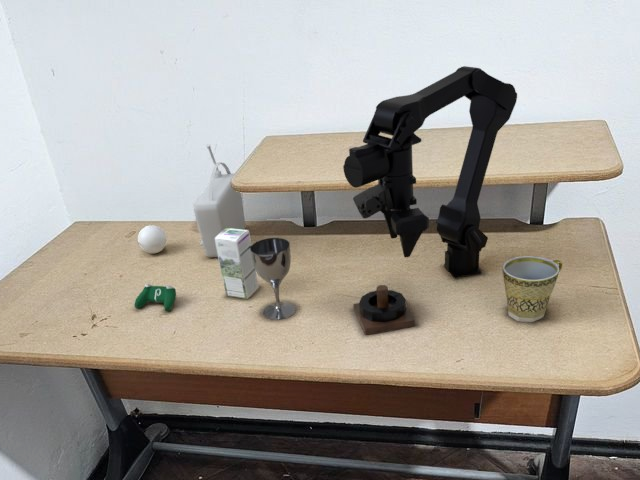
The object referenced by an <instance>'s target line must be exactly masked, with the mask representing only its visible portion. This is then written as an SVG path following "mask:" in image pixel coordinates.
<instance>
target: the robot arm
mask: <svg viewBox="0 0 640 480" xmlns="http://www.w3.org/2000/svg"><path fill="white" fill-rule="evenodd" d="M516 91H517V90H516V88H515V86H514V85H513V84H511V83H509V82H503V81H502V80H500V79H498V78H496V77H494V76H492V75H490V74H489V73H487V72H485V71H484V70H483V69H482V68H480V67H474V66H467V65H464V66H461V67H458V68H457V69H456V70H455V71H454V72H452V73H450V74H448V75H446V76H444V77H443V78H441V79H439V80H437V81H435V82H434V83H432V84H430V85H428V86H425V87H424V88H422V89H420V90H418V91H416V92H414V93H412V94H407V95H401V96H400V95H399V96H395V97H391V98H386V99H383V100H381V101H380V102H379V103H378V104H377V105H376V106H375V111H374V112H373V113H374V114H373V116H372V119H371V121H370V123H369V125H368V128H367V130H366V132H365V135H364V137H363V140H362V143H364V145H360V146H354V147H351V148H349V149H348V153H349V155H348V156H347V157H346V158H345V160H344V164H343V165H342V168H343V169H342V170H343V173H344V177H345V179H346V181H347V183H348V184H349V185H350V186H351V187H353V188H360V187H363V186H366V185H368V184H371V183H374V182H376V181H377V184H375V185H374V186H371V187H368V188H367V189H365V190H363V191H362V192H361V191H360V192H359V193H357V194H356V195H354V196H353V198H352V200H353V202H354V204H355V206H356V209H357V210H358V213H359V214H360V215H361V218H363V219H369V218H370V217H372V216H374V215H376V214H377V213H379V212H381V213H382V214H383V216H384V220H385V223H386V226H387V230H388V233H389V236H390V239H392V240H393V239H396V238H397V237H398V236H399V241H400V244H401V249H402V254H403V257H404V258H409V257H411V255H412V253H413V251H414V250H415V247H416V245H417V244H418V241H419V239H420V237H421V236H422V235H423V232H425V231H426V230H428V229H430V218H429V217H428V215H427V214H426V213H425V212H424V211H423V210H422V209H421V208H419V207H414V208H412V207H411V206H414V205H415V206H416V205H417V198H416V196H414V184H417V178H416V177H415V176H414V172H413V171H414V169H413V146H414V145H417V144H419V143H421V142H422V138H421V137H419V136H418V135H417V134H416V131H418V130H419V129H420V128H422V127H423V125H424V123H425V121H426V119H428V118H429V117H430V116H431V115H433V114H435V113H437V112H438V111H441V110H442V109H443V108H445V107H447V106H449V105H451V104H453V103H455V102H457V101H458V100H460V99H461V98H464V97H465V98H466V99H468V100H469V101H470V102H469V103H470V105H469V110H468V112H469V116H470V120H471V125H472V127H471V128H472V129H471V132H470V135H469V139H468V143H467V146H466V151H465V154H464V158H463V162H462V165H461V169H460V173H459V176H458V180H457V183H456V187H455V191H454V195H453V197H452V199H450V200H449V202H448V203H447V204H441V206H440V207H439V212H438V215H437V216H438V217H437V219H436V220H435V224H436V232H437V233H438V236H440V239H441V242H442V243H445V244H446V246H447V247H446V250H445V251H444V263H443V267H444V268H445V270H446V271H447V272H448V274H450V276H451V277H452V278H454V279H456V278H461V277H462V278H463V277H468V276H469V277H470V276H474V275H480V274H482V272H483V271H482V269H481V268H480V252H481V251H482V249H483V248H486V246H487V243H488V239H489V237H488V236H487V235H486V234H485V233H484V232H483V231H482V230H480V228H479V227H480V224H481V214H480V210H479V205H478V202H479V198H480V194H481V191H482V188H483V184H484V180H485V178H486V173H487V171H488V167H489V163H490V159H491V157H492V153H493V149H494V146H495V142H496V139H497V135H498V133H499V131H500V130H501V129H502V128H503V127H504V126H505V125H506V124H507V122H508V121H509V120H510V119H511V116H512V114H513V112H514V109H515V106H516V104H517V100H518V93H517V92H516ZM381 134H384V135H381ZM385 135H388V136H391V137H387V136H385Z"/></svg>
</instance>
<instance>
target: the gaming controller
mask: <svg viewBox="0 0 640 480" xmlns="http://www.w3.org/2000/svg"><path fill="white" fill-rule="evenodd" d="M176 299H177V290H176V288H175V286H173V285H169V284H167V285H166V286H163V285H153V284H151V283H145V285H144V287H143V289H142V290H141V292H140V293H139V294H138V295H137V297H136V299H135V300H134V307H135V308H136V309H141V308H143V307H144V306H146V304H148V303H149V302H150V303H160V304H163V308H164V311H165V312H170V311H171V310H172V308H173V307H174V304H175V302H176Z"/></svg>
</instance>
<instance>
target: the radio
mask: <svg viewBox="0 0 640 480" xmlns="http://www.w3.org/2000/svg"><path fill="white" fill-rule="evenodd" d="M206 148H207V149H208V152H209V155H210V157H211V160H212V163H213V167H212V170H211V172H210V176H209V182H208V183H207V184H206V186H205V188H204V189H203V190H202V191H201V193H199V195H198V196H197V197H196V200H195V201H194V203H193V213H194V217H195V221H196V225H197V228H198V233H199V236H200V239H201V240H200V241H199V245H200V247H202V248H203V250H204V254H205V257H207V258H218V253H217V248H216V244H215V237H216V236H217V235H218V234H219V233H221V232H222V231H223V230H225V229H227V228H231V229H242V230H246V219H245V213H244V203H243V195H242V192H241V193H240V192H236V191H234V190H232V188H231V186H230V182H231V180H232V178H233V176H234V175H235V174H236V173H232V172H231V171H230V169H229V167H228V166H227V164H226V163H225V162H217V161H216V159H215V156H214V153H213V151H212V148H211V144H209V143H207V144H206ZM219 165H221V166H222V167H223V168H224V170H225V172H226V173H222V171H221V170H219Z"/></svg>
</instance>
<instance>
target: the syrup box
mask: <svg viewBox="0 0 640 480" xmlns="http://www.w3.org/2000/svg"><path fill="white" fill-rule="evenodd" d="M215 244H216V248H217V253H218V257H217V258H218V262H219V267H220V272H221V277H222V283H223V287H224V291H225V296H226V297H231V298H235V299H236V298H237V299H244V300H248V299H249V298H251V297H252V296H253V295H254V293H255V292H256V291H257V290H259V287H260V286H259V281H258V276H257V275H258V274H257V272H256V269H255V267H254V264H253V261H252V257H251V251H250V248H251V246H252V245H253V244H252V240H251V234H250V230H249V229H245V230H242V229H231V228H227V229H225V230H223V231H222V232H221V233H219V234H218V235H217V236H216V237H215Z"/></svg>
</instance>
